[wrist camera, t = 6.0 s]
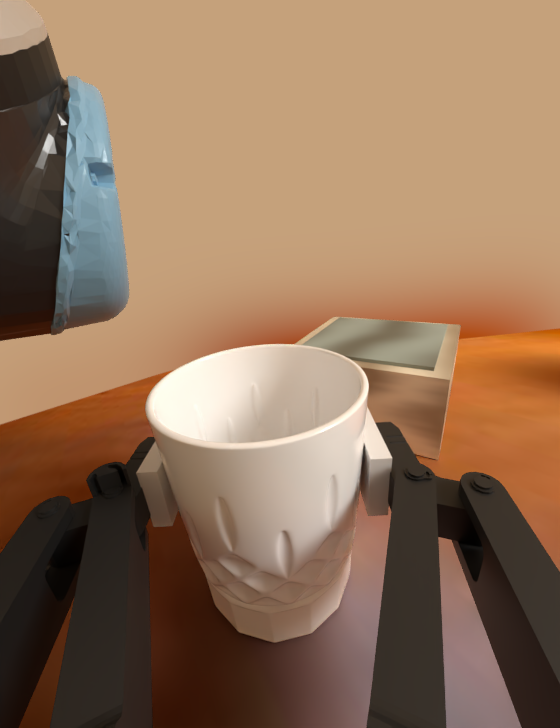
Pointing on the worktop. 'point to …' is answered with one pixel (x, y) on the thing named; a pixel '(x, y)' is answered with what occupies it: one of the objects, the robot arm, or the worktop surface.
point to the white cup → (266, 478)
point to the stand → (399, 371)
